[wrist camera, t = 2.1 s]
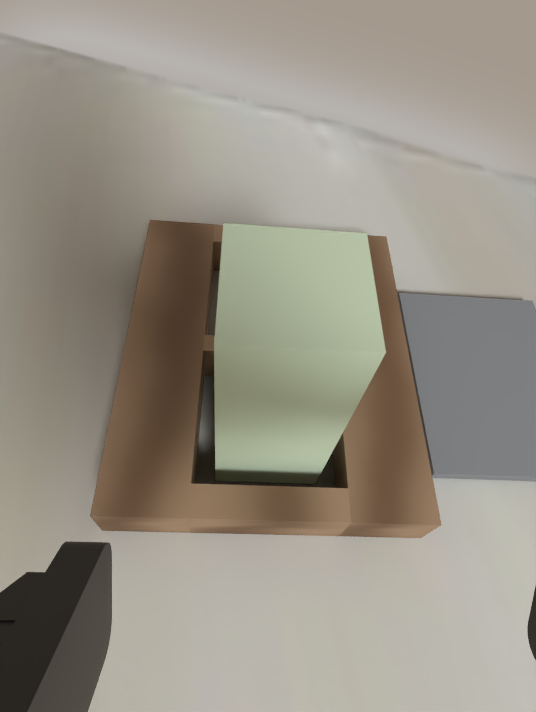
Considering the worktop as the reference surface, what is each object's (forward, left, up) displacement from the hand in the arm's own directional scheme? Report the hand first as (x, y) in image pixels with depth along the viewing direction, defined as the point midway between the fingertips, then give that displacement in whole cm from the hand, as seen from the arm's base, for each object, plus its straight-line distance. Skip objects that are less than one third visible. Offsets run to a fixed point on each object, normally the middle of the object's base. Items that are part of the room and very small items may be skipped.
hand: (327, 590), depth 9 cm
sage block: (0, +9, -14) cm, 16 cm away
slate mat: (+13, +13, -14) cm, 23 cm away
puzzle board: (0, +13, -14) cm, 19 cm away
